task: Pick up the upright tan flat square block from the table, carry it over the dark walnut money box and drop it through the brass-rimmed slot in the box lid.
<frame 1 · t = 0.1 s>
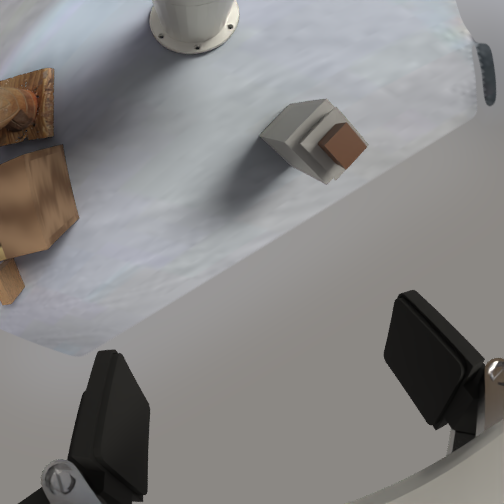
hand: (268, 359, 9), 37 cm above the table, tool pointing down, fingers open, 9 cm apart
bird sculpture: (26, 107, 32), on the table
perfume bottle: (290, 134, 42), on the table
tan flat square block: (14, 273, 42), on the table
money box: (22, 196, 37), on the table
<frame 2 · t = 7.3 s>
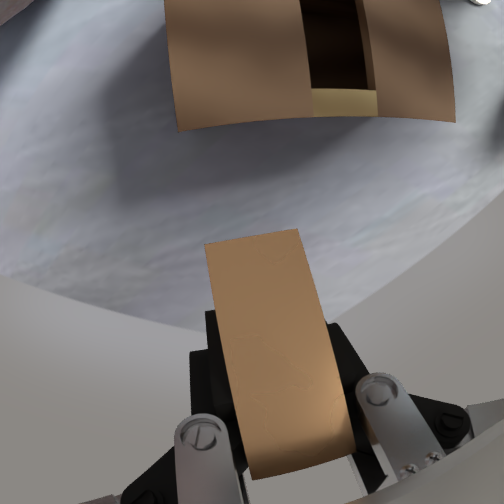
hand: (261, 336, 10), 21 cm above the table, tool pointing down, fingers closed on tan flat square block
tan flat square block: (262, 367, 12), point 20 cm above the table, tilted 51°, touching gripper
money box: (284, 59, 24), on the table
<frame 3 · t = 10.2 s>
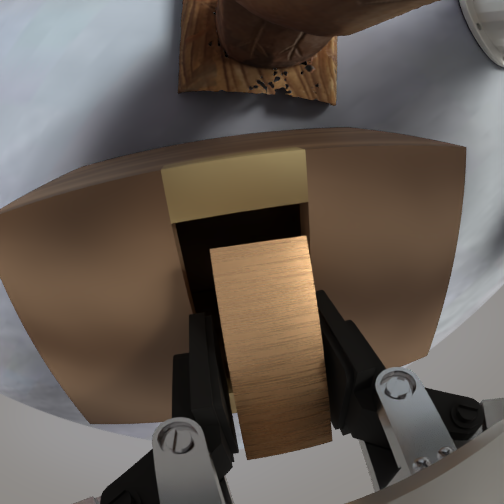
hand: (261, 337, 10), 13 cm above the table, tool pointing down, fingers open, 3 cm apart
bird sculpture: (258, 28, 17), on the table
tan flat square block: (273, 413, 10), point 15 cm above the table, tilted 121°
money box: (225, 219, 22), on the table
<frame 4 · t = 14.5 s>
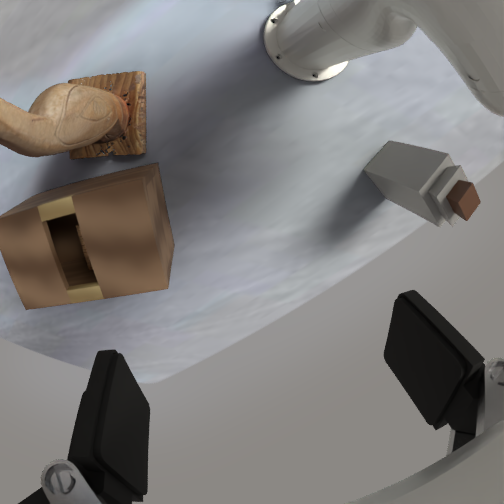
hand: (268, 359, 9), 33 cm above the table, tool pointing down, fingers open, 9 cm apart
bird sculpture: (106, 115, 33), on the table
perfume bottle: (387, 169, 43), on the table
tan flat square block: (103, 258, 37), point 4 cm above the table, tilted 90°, touching money box
money box: (99, 218, 39), on the table
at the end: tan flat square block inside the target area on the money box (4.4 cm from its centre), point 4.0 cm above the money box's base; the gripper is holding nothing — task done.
